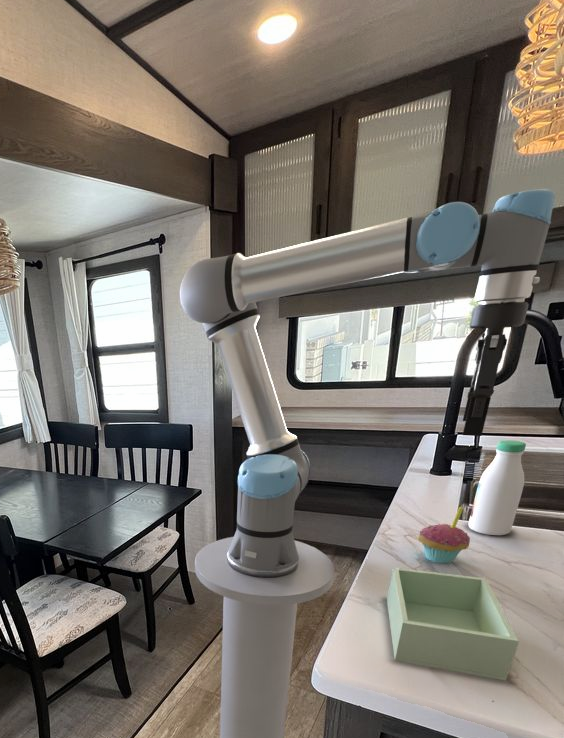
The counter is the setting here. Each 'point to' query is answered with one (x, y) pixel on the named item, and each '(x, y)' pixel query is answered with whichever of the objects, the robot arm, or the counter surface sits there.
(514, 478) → the milk bottle
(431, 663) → the tub
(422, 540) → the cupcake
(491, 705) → the counter surface
